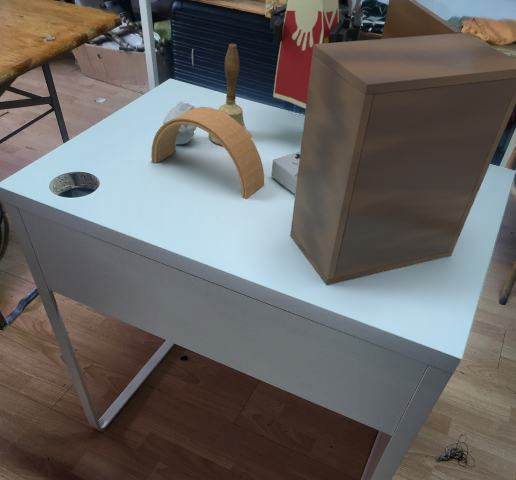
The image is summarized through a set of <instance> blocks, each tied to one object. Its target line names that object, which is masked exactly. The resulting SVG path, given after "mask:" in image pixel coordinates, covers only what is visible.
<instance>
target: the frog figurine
mask: <svg viewBox="0 0 516 480" xmlns="http://www.w3.org/2000/svg"><path fill="white" fill-rule="evenodd" d="M193 108H196V106H194V105H192V104H190V103H188V102H185V101H178V102H177V103H176V105H175V106H173V107H172V108H170V109H169V110H168V112H167V113H166V115H165V116H164V118H163V121H162V122H163V123H162V125H164V124H165V123H166V122H168V121H170V120H172V119H174V118H176V117H177V116H179V115H181V114H183V113H185V112H187V111H189V110H191V109H193ZM197 128H198V127H196V126H192V125H186V124H182V125H181V127H180V128H179V131H178V133H177V137H176V143H175V145H185V144H188V143H189V142H190V141H191V140H192V139H193V137H194V136H195V132H196V130H197Z"/></svg>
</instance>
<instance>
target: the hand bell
mask: <svg viewBox="0 0 516 480" xmlns="http://www.w3.org/2000/svg"><path fill="white" fill-rule="evenodd" d="M239 73H240V56H239V51H238V47H237V44H236V43H229V44H228V48H227V51H226V54H225V58H224V75H225V79H226V97H225V100H226V101H225V103H224V104H221V105H220V106H219V107H218V110H220V111H222V112H224V113H226V114H227V115H229V116H230V117H232V118H233V119H234V120H236V121H237V122H238V123H239V124H240V125H241V126H242V127H243V128H244V130H245V131H246V132H247V133H248V135H249V136H250V138H251V139H252V138H253V137H252V134H251V132H250V131H249V129H248V128H247V126H246V124H245V120H244V113H243V112H244V111H243V108H242V107H241V106H240V105H239V104H237V103H236V98H237V96H236V94H237V93H236V91H237V90H236V89H237V88H236V87H237V81H238V77H239ZM208 138H209V140H210V141H211V142H213V143H214V144H216V145H219V146H222V145H221V143H219V142H218V141H217V140H216V139H215V138H214V137H213V136H212V135H210V134H209V133H208Z"/></svg>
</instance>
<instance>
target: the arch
mask: <svg viewBox="0 0 516 480" xmlns="http://www.w3.org/2000/svg"><path fill="white" fill-rule="evenodd" d="M182 124H186V125H192V126H196V127H197V128H199V129H201V130H202V131H204V132H206V133H208V135H209V134H210V135H212V136H213V137H214V138H215V139H216V140H217V141H218V142H219V143H221V145H220V146H222V148H224V150H225V151H226V153H227V154H228V156H229V157H230V159H231V160H232V162H233V165H234V166H235V168H236V169H235V170H236V171H237V174H238V177H239V181H240V187H241V197H242V198H244V199H245V200H247V199H248V198H249V197H251V196H252V195H254V193H255V192H257V191H259V189H261V188H263V187H264V186H265V172H264V165H263V162H262V159H261V156H260V155H261V154H260V152H259V151H258V148H257V146H256V144H255V142H254V141H253V139H252V138H250V136H249V135H248V133H247V132H246V131H245V130H244V128H243V127H242V126H241V125H240V124H239V123H238V122H237V121H236V120H234V119H233V118H232V117H230V116H229V115H227V114H226V113H224V112H222V111H220V110H219V109H217V108H214V107H208V106H198V107H195V108H193V109H191V110H189V111H187V112H185V113H183V114H181V115H179V116H177V117H176V118H174V119H172V120H170V121H168V122H166V123H165V124H162V125H161V126H160V127H159V128H158V130H157V131H156V132H155V135H154V137H153V140H152V145H151V153H150V156H151V157H150V158H151V162H152V163H154V164H158V163H159V162H162V161H164V160H165V159H167V158H168V157H170V156H172V155H173V154H174V153H176V137H177V133H178V131H179V128H180V127H181V125H182Z"/></svg>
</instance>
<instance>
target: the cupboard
mask: <svg viewBox="0 0 516 480" xmlns="http://www.w3.org/2000/svg"><path fill="white" fill-rule="evenodd" d="M312 54H313V55H312V62H311V70H310V78H309V86H308V95H307V103H306V109H305V111H304V119H303V120H304V121H303V129H302V137H301V145H300V151H299V152H300V160H299V168H298V176H297V185H296V186H295V187H296V193H295V194H294V200H293V201H294V202H293V209H292V210H293V211H292V218H291V225H290V226H291V227H290V234H289V237H290V238H291V239H292V241H293V242H294V243H295V245H296V246H297V247H298V249H299V250H300V252H301V253H302V254H303V256H304V257H305V258H306V260H307V261H308V263H309V264H310V265H311V267H312V268H313V270H315V272H316V273H317V275H318V276H319V277H320V279H321V281H322V282H323V283H324V285H326V286H330V285H334V284H338V283H343V282H347V281H351V280H354V279H360V278H364V277H368V276H372V275H376V274H381V273H385V272H389V271H394V270H397V269H401V268H406V267H410V266H414V265H419V264H422V263H427V262H431V261H435V260H441V259H444V258H448V257H451V256H452V255H453V253H454V251H455V248H456V245H457V242H458V240H459V239H460V236H461V233H462V231H463V229H464V226H465V224H466V222H467V219H468V217H469V214H470V212H471V210H472V208H473V205H474V203H475V201H476V198H477V196H478V193H479V191H480V189H481V186H482V185H483V181H484V179H485V176H486V175H487V172H488V170H489V167H490V165H491V162H492V160H493V158H494V155H495V154H496V152H497V151H496V150H497V148H498V146H499V143H500V142H501V139H502V137H503V134H504V132H505V129H506V127H507V125H508V122H509V120H510V118H511V115H512V113H513V112H514V108H515V106H516V58H514V57H513V56H511V55H508V54H506V53H504V52H502V51H500V50H498V49H496V48H494V47H492V46H490V45H488V44H486V43H484V42H482V41H481V40H478V39H476V38H475V37H472V36H471V35H468V34H467V33H464V32H462V33H454V34H441V35H428V36H415V37H402V38H389V39H381V38H379V39H365V40H363V39H362V40H359V41H351V40H349V41H345V42H337V43H324V44H314V45H313V53H312Z"/></svg>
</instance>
